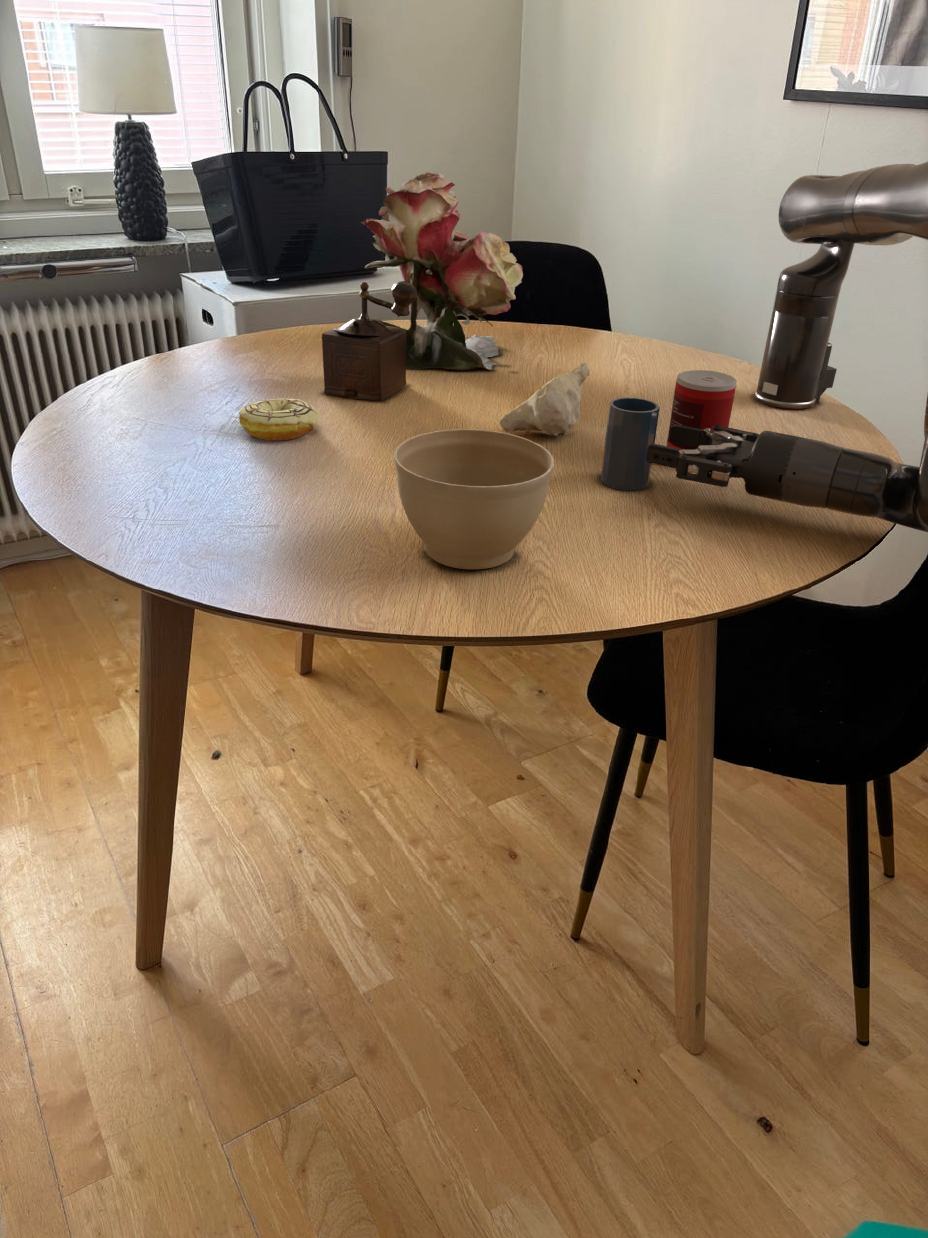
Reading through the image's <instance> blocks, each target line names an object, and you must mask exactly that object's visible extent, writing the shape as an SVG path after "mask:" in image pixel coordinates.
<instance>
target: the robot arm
mask: <svg viewBox="0 0 928 1238" xmlns="http://www.w3.org/2000/svg"><path fill="white" fill-rule="evenodd" d="M777 215H778V224H779V228H780V231H781V233H782V234H783V236H784V237H785V238H786V239H787V240H788V241H790V242H791V243H796V244H803V245H805V244H807V245H820V247H818V249H817V251H816V252H815V253H814V254H813V255H811V256H810V257H808V258H807V259H805V260H803V261H800V262H798V263H795V264H792V265H789V266H787V267H785V268H784V269H782V270H781V271H780V273H779V276H778V281H777V286H776V291H775V295H774V301H773V306H772V311H771V317H770V322H769V326H768V331H767V337H766V341H765V345H764V352H763V357H762V362H761V367H760V371H759V375H758V376H759V377H758V383H757V387H756V390H755V394H754V398H755V400H756V401H758V402H759V403H762V404H765V405H767V406H771V407H776V408H782V409H789V410H790V409H792V410H801V409H808V408H812V407H814V406H815V405H816V404H820V402H821V401H820V400H821V396H822V395H823V394H824V393H825V392H826V391H827V389H832V388H833V387H834V382H835V379H836V375H837V368H836V367H833V366H830V365H829V363H830V359H831V358H830V357H831V354H832V349H833V345H832V343H831V342H829V341H830V336H831V331H832V328H833V324H834V319H835V315H836V311H837V306H838V302H839V297H840V293H841V289H842V285H843V282H844V280H845V278H846V276H847V273H848V271H849V267H850V263H851V258H852V255H853V252H854V247H855V245H856V244H858V245H864V246H893V245H897V244H898V245H899V244H901V243H905V242H906V241H909V240H910V239H911V238H913V237H915V238H918V239H922V240H926V241H928V161H925V162H923V163H919V164H915V163H895V164H886V165H880V166H876V167H871V168H867V169H862V170H857V171H853V172H849V173H846V174H843V175H823V174H822V175H821V174H819V175H818V174H817V175H816V174H809V175H803V176H800V177H799V178H797V179H795V180H794V181H793V182H792V183H791V184H790V185H789V186H788V188H787V189H786V191H784V194H783V196H782V198H781V201H780V204H779V207H778V214H777ZM925 404H926V405H925V411H924V419H923V436H924V442H923V447H922V452H921V456H920V463H919V466H916V465H910V464H905V463H900V462H897V461H896V460H893V459H892V458H890V457H887V456H884V455H881V454H879V453H875V452H874V453H873V452H867V451H863V450H857V449H852V448H847V447H843V446H839V445H836V444H833V443H830V442H826V441H823V440H818V439H813V438H808V437H803V436H797V435H793V434H787V433H781V432H777V431H771V430H763V431H761V432H760V433H758V432H752V431H748V430H744V429H738V428H734V427H730V426H729V427H724V426H720V425H713V427H712V429H711V428H704V429H703V431H702V429H698V428H692V427H687V426H682V425H674V426H673V427H672V428H671V434H670V441H671V442H672V443H676V444H681V445H686V446H691V447H696V448H697V449H695V450H680V449H677V448H673V447H668V446H667V445H663V444H658V443H655V444H651V445H650V446H649V447H648V449H647V456H646V460H647V462H648V463H652V465H657V466H661V467H667V468H672V469H675V472H676V474H675V477H676V478H677V479H679V480H684V481H690V482H694V483H700V484H706V485H710V486H715V487H720V488H727V487H728V486H729V483H730V479H731V478H736V479H742V480H743V481H744V490H745V492H746V493H747V494H748V495H751V496H756V497H761V498H765V499H769V500H772V501H773V500H774V501H778V502H782V503H787V504H791V505H792V504H793V505H797V506H801V507H807V508H818V509H824V510H825V509H827V510H829V511H835V512H839V513H844V514H848V515H851V516H852V515H853V516H859V517H866V518H875V519H880V520H883V521H885V522H889V523H893V524H896V525H898V526H903V527H905V528H906V527H907V528H909V529H913V530H917V531H921V532H924V533H928V393H927V394H926V403H925ZM689 464H693V465H689Z"/></svg>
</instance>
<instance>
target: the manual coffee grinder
mask: <svg viewBox="0 0 928 1238" xmlns="http://www.w3.org/2000/svg"><path fill="white" fill-rule="evenodd" d="M359 286H360V291H359V297H360V298H361V314H360V317H356V318H352V319H351V320H349V321H348V322H346V323H343V324H341V325H339V326H336V327H334V328H331V329H329V330H326V331H325V332H322V334H321V347H322V367H323V384H324V389H323V394H325V395H329V396H330V395H331V396H336V397H343V398H349V399H359V400H360V399H361V400H369V401H381V402H382V401H384V400H387V399H390V398H391V397H393V396H394V395H396V394H398V393H399V392H401V391H402V390H403V389H404V388H405V387H406V386H407V368H406V330H407V328H403V327H400V328H397V327H390V326H385V325H384V324H383V323H381V322H379V321H378V320H376V319H373V317H372V318H371V317H370V316H369V314H368V302H370V303H373V304H374V305H377V306H380V307H384V308H387V309H390V310H391V313H393V314H394V315H396V316H397V318H400V317H408V316H409V315H410V304H411V303H412V302H413V301H414V300H415V299H416V296H417V291H416V288H415V287H414V286H413V285H412V284H411V283H409V282H406V281H404V280H401V281H397V282H395V283H394V284H393V285H392V287H391V295H392V297H393V301H394V303H392V302H389V301H386V300H383V299H380V298H377V297H374V296H372V295H370V292H369V291H368V290H369V284H368V282H366V281H362V282H361V283H360V285H359Z"/></svg>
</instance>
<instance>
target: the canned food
mask: <svg viewBox="0 0 928 1238" xmlns="http://www.w3.org/2000/svg"><path fill="white" fill-rule="evenodd" d="M736 388H737V379H736V378H735V377H734V376H732V375H730V374H728V373H724V372H719V371H714V370H705V369H704V370H703V369H695V370H694V369H691V370H686V371H682V372H680V373H678V374H677V377H676V381H675V386H674V392H673V399H672V406H671V414H670V418H669V419H670V420H669V427H668V434H667V440H666V446H668V447H673V448H677V449H680V450H695V449H697V448H696V447H691V446H686V445H681V444H676V443H672V442H671V441H670V434H671V428H672V427H673V426H674V425H682V426H687V427H692V428H698V429H702V431H703V429H704V428H711V429H712V427H713V425H720V426H724V427H729V428H730V421H731V416H732V411H733V405H734V400H735V395H736ZM689 465H693V464H689Z"/></svg>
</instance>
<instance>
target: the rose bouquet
mask: <svg viewBox="0 0 928 1238" xmlns="http://www.w3.org/2000/svg"><path fill="white" fill-rule="evenodd" d="M454 186H456V184H455V182H453V181H451V180H448V179H446V178H445V175H444V174H442V173H441V172H439V173H438V172H437V173H434V172H432V171H425V172H423V173H421V174H419V175H416V176H415V177H414V178H412V179H408V180H406V181H405V182H403V183H401V188H399V189H398V190H397V191H396V190H394V189H392V187H391V186H388V187H385V191H386V193H387V195H386V196H385V198H384V199H383V206H381V207H380V209H379V211H378V216H381V219H377V218H366V219H365V220H363V221H361V222H360V224H363V225H365V226H366V227H367V228H368V229H369V230H370V231H371V233H373V234H374V235H373V236H372V238H374V240H375V241H374V242H373V241H371V244H372V245H373V247H374V248H375V249H376V250H377V251H378V252H382V253H384V255H386V257H387V258H388V260H376V261H371V262H370V263H368V264H366V265H365V266H364V269H371V268H376V267H377V268H396V267H397V269H398V270H399V273H400V275H401V278H402V281H406V282H409V283H411V284H412V285H413V286H414V287H415V288H416V291H417V296H416V299H415V300H414V301H413V302H412V303H411V304H410V305H409V312H410V314H409V315H410V316H409V321H410V324H409V327H408V328H407V329H406V369H413V370H426V369H433V368H435V369H436V368H439V369H445V370H446V369H447V370H455V371H467V370H468V371H470V370H476V369H481V368H482V369H486V370H489V371H492V370H493V368H492V367H493V366H498V363H496V362H494V361H492V360H491V359H490V358H491V357H495V356H499V349H498V345H497V343H496V340H495V337H494V336H491V335H485V336H483V335H478V334H476V333H475V334H474V335H472V336H470V337H466V334H465V331H464V327H463V326H462V325H465V326H468V325H470V324H471V320H470V318H469V317H470V316H474V317H475V318H476V319H478V321H479V322H480V323H481V322H486V323H488V324H489V325H490V326H491V327H494V325H493V324H492V323H490V321H489V320H487V319H486V318H485V317H484V316H487V315H492V316H497V315H499V314H501V313H506V312H509V310H511V302H510V301H511V300H513V301H514V300H516V295H515V289H516V287H518V286H519V285H520V284H521V283H523V281H522V280H523V277H524V272H523V266H522V265H521V264H520V263H517V261H518V260H517V257H515V255H514V254H513V253H512V252H510V250H511V247H510V245H509V243H507V242H506V241H504V239H502V238H501V236H500V235H498V234H497V233H493V232H489V231H486V230H481V231H477V232H476V234H474V235H473V236H471V237H470V236H468V235H467V233H464V232H462V231H458V230H455V228H456V226H457V224H458V223H459V221H460V218H461V214H460V212H459V210H458V209H456V208H457V206H458V204H459V201H458V200H457V199H456V194H457V193H456V192H455V191H452V188H453V187H454ZM446 309H447V310H446ZM421 310H422V312H423V314H424V315H425V316H426V321H425V325H419V324H418V323H417V318H418V315H419V313H420V311H421ZM443 310H446V311H445V312H444V314H443V315H442V313H443ZM460 316H462V317H464V318H465V319H466V320H464V321H461V323H462V324H461V323H460V321H459V319H458V318H457V317H460ZM372 319H376V320H378V321H379V322H381V323H383V324H384V325H385V326H390V327H397V328H401V327H400V326H398V325H396V324H393V323H390V322H387V321H383V320H382V319H380V318H377V317H375V316H374V317H372ZM502 366H504V367H505V366H506V365H504V364H503V365H502V364H499V367H502Z"/></svg>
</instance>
